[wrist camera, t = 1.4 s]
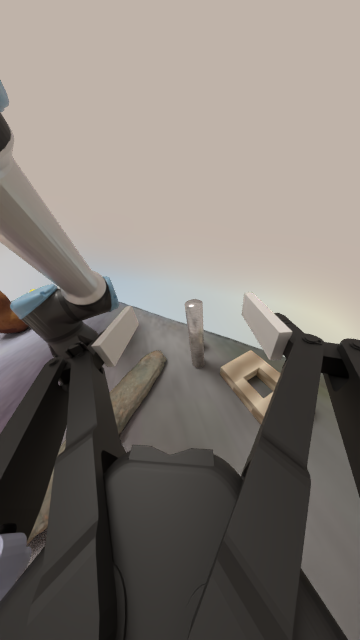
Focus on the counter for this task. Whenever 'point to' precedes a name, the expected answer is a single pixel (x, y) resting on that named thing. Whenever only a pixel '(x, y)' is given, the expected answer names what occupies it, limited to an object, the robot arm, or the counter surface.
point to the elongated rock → (115, 413)
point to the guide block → (237, 379)
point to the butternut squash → (9, 318)
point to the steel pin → (195, 331)
